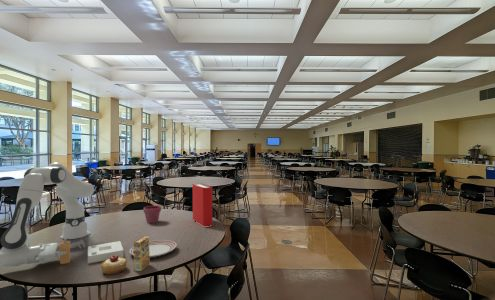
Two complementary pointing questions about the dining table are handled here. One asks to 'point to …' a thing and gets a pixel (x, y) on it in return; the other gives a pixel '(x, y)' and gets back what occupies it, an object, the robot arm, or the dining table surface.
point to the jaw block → (66, 257)
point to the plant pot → (152, 213)
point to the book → (202, 204)
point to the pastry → (114, 265)
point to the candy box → (141, 254)
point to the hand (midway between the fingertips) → (67, 249)
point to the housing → (104, 251)
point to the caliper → (77, 244)
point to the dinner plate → (158, 247)
